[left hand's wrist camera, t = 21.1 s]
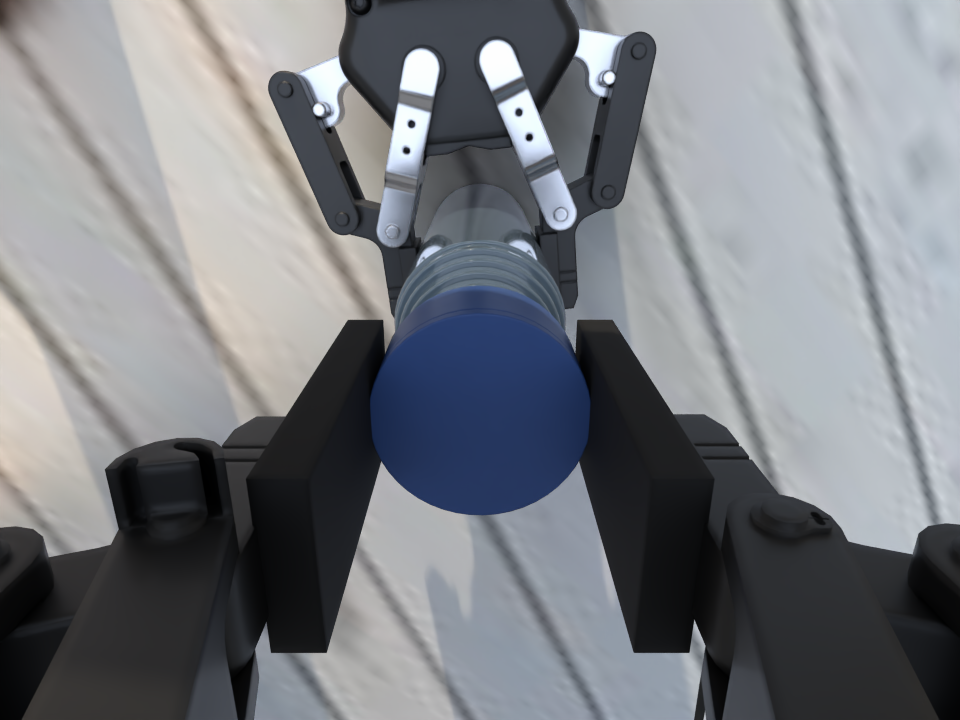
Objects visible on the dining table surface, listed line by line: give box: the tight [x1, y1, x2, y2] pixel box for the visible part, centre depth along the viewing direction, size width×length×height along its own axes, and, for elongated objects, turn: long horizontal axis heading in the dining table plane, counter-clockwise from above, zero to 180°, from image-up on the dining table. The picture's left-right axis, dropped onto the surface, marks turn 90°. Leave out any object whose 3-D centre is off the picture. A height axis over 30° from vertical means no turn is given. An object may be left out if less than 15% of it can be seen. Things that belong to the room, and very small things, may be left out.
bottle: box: [395, 184, 566, 332], centre depth 23 cm, size 5×5×20 cm
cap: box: [370, 286, 591, 515], centre depth 13 cm, size 4×4×2 cm
